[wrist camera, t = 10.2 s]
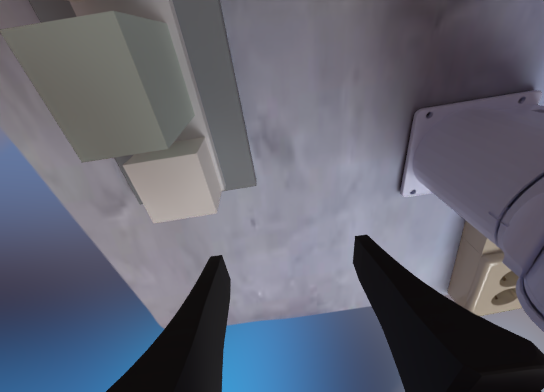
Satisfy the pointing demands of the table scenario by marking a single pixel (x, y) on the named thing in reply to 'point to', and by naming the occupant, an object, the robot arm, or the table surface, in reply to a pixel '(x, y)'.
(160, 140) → the block
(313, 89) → the table surface
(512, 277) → the electrical outlet
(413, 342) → the robot arm
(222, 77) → the rail board
